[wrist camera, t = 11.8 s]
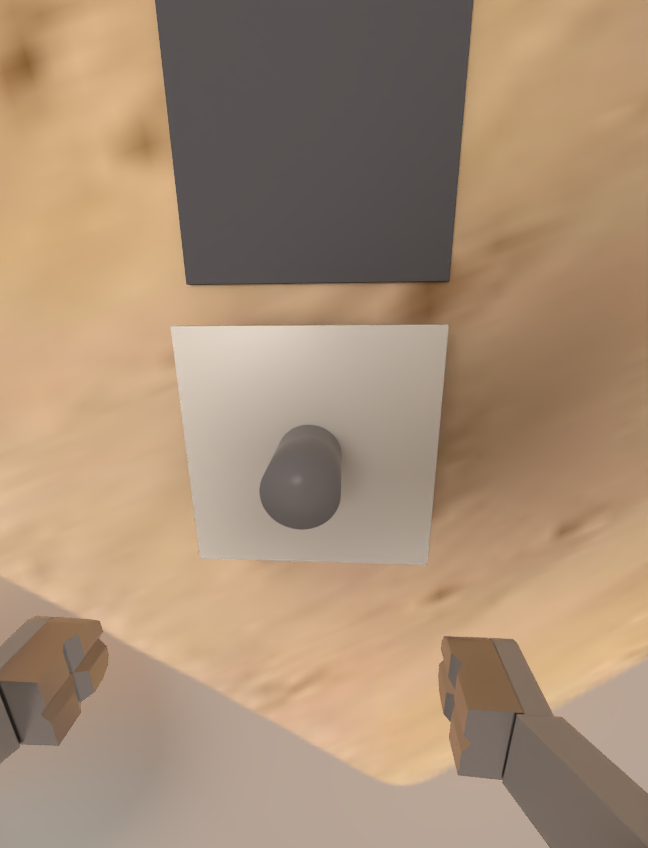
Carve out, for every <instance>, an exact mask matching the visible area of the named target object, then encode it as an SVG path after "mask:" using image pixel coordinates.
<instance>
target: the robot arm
mask: <svg viewBox="0 0 648 848" xmlns="http://www.w3.org/2000/svg"><path fill="white" fill-rule="evenodd" d="M102 633H103V630H102V626H101V623H100V621H97V620H90V619H77V618H64V617H47V616H35V617H33V618H31V619H29V620H27V621H26V622H25V623H24V624H23V625H22V626H21V627H20V628H19V629H18V630H17V631H16V632H15V633H14V634H13V635H12V636H10V638H8V639H7V640H6V641H5V642H4V643H3V644H2V645H1V646H0V763H1V762H3V761H4V760H5V759H6V758H7V757H8V756H10V755H11V754H12V753H13V752H15V751H16V750H17V749H18V748H19V747H20V745H19V744H27V745H54V746H56V745H57V746H59V745H60V743H61V741H62V740H63V739H64V737H65V736H66V734H67V733H68V731H69V730H70V728H71V727H72V725H73V724H74V722H75V721H76V719H77V718H78V716H79V715H80V713H81V702H82V701H83V700H84V699H86V698H87V697H88V696H90V695H91V694H92V693H94V692H95V691H96V689H97V687H98V686H99V684H100V682H101V681H102V680H103V677H104V674H105V671H106V669H107V666H108V656H109V654H108V649H107V646H106V645H105V644H104V643H103V642H102V641H101V640H100V639H99V637H100V636H101V634H102ZM441 651H442V655H443V659H444V660H443V661H442V662H441V663H440V664H439V674H438V678H439V692H440V699H441V704H442V709H443V713H444V715H445V716H446V717H447V718H448V720H449V721H450V722H451V725H450V733H449V739H450V744H451V748H452V752H453V756H454V760H455V765H456V769H457V773H458V775H461V776H470V777H480V778H489V779H498V780H503V782H502V783H503V784H504V786H505V787H506V788H507V790H508V791H509V792H510V794H511V795H512V796H513V798H514V799H515V800H516V802H517V803H518V805H519V806H520V807H521V809H522V810H523V812H524V813H525V814H526V816H527V817H528V818H529V820H530V821H531V822H532V824H533V825H534V826H535V828H536V829H537V831H538V832H539V833H540V835H541V836H542V837H543V839H544V840H545V841H546V843H547V844H548V846H549V847H550V848H648V793H647V792H645V791H644V790H643V789H642V788H641V787H640V786H639V785H637V784H636V783H635V782H634V781H633V780H632V779H631V778H630V777H628V775H626V774H625V773H624V772H623V771H622V770H620V768H619V767H617V766H616V765H615V764H614V763H613V762H612V761H611V760H609V759H608V758H607V757H606V756H605V755H604V754H603V753H602V752H600V751H599V750H598V749H597V748H596V747H595V746H594V745H593V744H592V743H590V742H589V741H588V740H587V739H586V738H585V737H584V736H583V735H581V734H580V733H579V732H578V731H577V730H576V729H575V728H574V727H573V726H571V725H570V724H569V723H568V722H567V721H566V720H565V719H563V718H562V717H556V716H554V715H553V713H552V711H551V709H550V707H549V705H548V703H547V701H546V699H545V697H544V695H543V693H542V691H541V689H540V687H539V685H538V683H537V681H536V679H535V677H534V675H533V673H532V671H531V669H530V668H529V666H528V664H527V662H526V660H525V658H524V656H523V654H522V652H521V650H520V648H519V646H518V644H517V643H516V642H515V641H514V640H513V639H498V638H489V639H488V638H479V637H451V636H444V637H443V639H442V645H441Z"/></svg>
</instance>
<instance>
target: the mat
mask: <svg viewBox="0 0 648 848" xmlns="http://www.w3.org/2000/svg"><path fill="white" fill-rule="evenodd" d="M155 4H156V13H157V22H158V31H159V40H160V49H161V58H162V67H163V76H164V85H165V94H166V103H167V112H168V121H169V130H170V139H171V148H172V157H173V166H174V175H175V184H176V193H177V202H178V211H179V220H180V229H181V238H182V248H183V257H184V266H185V275H186V284H188V285H213V284H289V283H366V282H442V281H449V277H450V265H451V253H452V242H453V230H454V219H455V207H456V195H457V184H458V172H459V160H460V149H461V137H462V125H463V114H464V102H465V90H466V79H467V67H468V56H469V44H470V32H471V21H472V9H473V0H155Z"/></svg>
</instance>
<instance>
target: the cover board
mask: <svg viewBox="0 0 648 848" xmlns="http://www.w3.org/2000/svg"><path fill="white" fill-rule="evenodd" d="M448 328H449V325H447V324H387V325H228V326H171V334H172V342H173V350H174V358H175V366H176V374H177V381H178V389H179V397H180V405H181V413H182V421H183V429H184V437H185V445H186V453H187V460H188V468H189V476H190V484H191V492H192V500H193V508H194V516H195V524H196V531H197V539H198V547H199V555H200V558H203V559H236V560H270V561H303V562H337V563H371V564H404V565H427V564H428V553H429V542H430V531H431V519H432V508H433V497H434V486H435V474H436V463H437V452H438V441H439V429H440V418H441V407H442V396H443V384H444V373H445V362H446V351H447V340H448Z"/></svg>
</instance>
